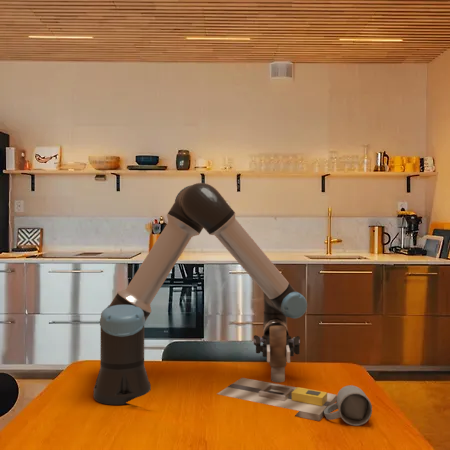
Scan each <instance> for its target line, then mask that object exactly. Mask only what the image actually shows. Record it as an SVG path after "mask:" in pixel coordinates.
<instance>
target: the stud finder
mask: <svg viewBox="0 0 450 450" xmlns="http://www.w3.org/2000/svg"><path fill="white" fill-rule="evenodd" d="M327 393H328V392H326V391H321V390H315V389H310V388H305V387H299V386H297V388H296V389H295V390H294V391H293V392H292V400H293V401H299V402H304V403H309V404H314V405H319V406H323V405H324V403H325V402H326V401H327Z"/></svg>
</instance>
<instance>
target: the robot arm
mask: <svg viewBox="0 0 450 450" xmlns="http://www.w3.org/2000/svg"><path fill="white" fill-rule="evenodd" d="M166 218H167V223H166V224H165V226H164V228H163V230H161V233H160V234H159V236H158V237H157V239H156V241H155V242H154V244H153V245H152V247H151V249H150V250H149V252H148V253H147V255H146V257H144V260H143V262H142V263H141V265H140V266H139V267H138V269H137V271H136V272H135V273H134V275H133V277H132V279H131V281H130V282H129V283H128V285H127V286H126V288H125V289H124V290H123V289H122V290H120V291H118V292H117V293H116V295H115V296H114V298H113V299H112V301H111V302H110V304H109V305H108V306H107V307H106V308H104V309H103V310H102V311H101V313H100V319H99V326H100V352H99V353H100V358H99V359H100V364H99V365H100V366H99V371H98V374H97V378H96V382H95V384H94V387H93V399H94V400H95V401H96V402H97V403H100V404H103V405H111V406H113V405H114V406H118V405H121V406H122V405H129V403H128V402H130V401H132V400H134V399H136V398H140V397H142V396H145V395H146V394H148V393H149V392H150V391H151V389H152V388H151V383H150V380H149V377H148V374H147V369H146V367H145V324H146V321H147V320H148V318H149V316H150V315H151V313H152V309H151V304H152V302H153V300H154V299H155V297H156V295H157V294H158V292H159V290H160V289H161V288H162V286H163V285H164V282H165V281H166V280H167V278H168V276H169V274H171V273H170V272H171V271H172V270H173V268H174V266H175V265H176V263H177V261H178V260H179V258H180V257H181V255H182V253H183V251H184V250H185V249H186V247H187V246H188V244H189V243H190V241H191V239H192V238H193V237H196V236H199V235H200V234H201V232H202V231H203V229H204V230H205V231H206V232H207V234H209V236H215V238H217V240H218V241H219V242H220V243H221V244H222V246H223V247H224V248H225V249H226V251H228V252H229V254H230V255H231V256H232V257H233V258H234V259H235V261H236V262H237V263H238V264H239V265H240V266H241V267H242V268H243V270H244V271H245V272H246V273H247V274H248V275H249V277H250V278H251V279H252V280H253V282H254V283H256V285H257V286H258V287H259V288H260V290H261V291H262V293H263V323H262V324H263V326H262V329H263V335H262V336H260V335H259V336H258V335H253V345H254V346H255V353H256V354H261V353H262V357H263V358H266V362H267V363H270V326H285V327H286V364H289V363H291V357H294V355H299V354H301V353H300V345H301V336H299V335H296V336H290V334H289V333H290V332H289V329H288V318H291V319H299V318H301V317H303V316H304V314H305V313H306V312H307V309H308V301H307V299H306V298H305V296H304V295H303V294H302V293H301V292H298V291H297V290H296V289H295V288H294V287H293V286H292V284H290V283H289V281H288V280H287V279H286V277H285V276H284V275H283V274H282V272H280V270H279V269H278V268H277V267H276V265H275V264H274V263H273V262H272V260H271V259H270V258H269V257H268V256H267V255H266V253H265V252H264V251H263V250H262V248H261V247H260V246H259V245H258V244H257V242H256V241H255V240H254V239H253V238H252V236H250V234H249V233H248V232H247V230H245V229H244V227H243V226H242V224H241V223H239V221H238V220H237V219H236V212H235V211H234V210H233V208H232V206H230V205H229V203H228V202H227V201H226V200H225V198H224V196H222V194H221V193H220V192H219V191H218V190H217V188H215V186H212V185H211V184H209V183H206V182H198V183H193V184H192V185H188V186H185V187H184V188H182V189H181V190H180V191H179V192H178V193H177V195H176V196H175V199H174V203H173V204H172V206H171V208H170V209H169V211H168V212H167V214H166ZM292 337H293V338H292ZM261 343H263V344H261Z"/></svg>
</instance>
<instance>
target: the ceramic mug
mask: <svg viewBox="0 0 450 450" xmlns="http://www.w3.org/2000/svg"><path fill="white" fill-rule="evenodd" d="M336 395H337V401H336V402H335V403H334V404H332V405H330V406H328V407H327V408H326V409H325V410H324V417H325V419H326V420H330V421H331V420H332V421H333V420H336V419H340V418H341V419H342V421H343V422H345V424H347V425H349V426H355V427H356V426H357V427H359V426H362V425H364V424H366V423H367V422H368V421H369V420H370V418H371V417H372V414H373V413H372V412H373V405H372V402H371V400H370V398H369V397H368V396H367V395H366V393H365V392H364V391H363V390H362V388H360V387H358V386H356V385H353V384H351V385H345V386H343V387H342V388H340V389H339V391H338V392H337V394H336ZM336 410H337V411H336Z"/></svg>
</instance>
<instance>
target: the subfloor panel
mask: <svg viewBox="0 0 450 450" xmlns="http://www.w3.org/2000/svg"><path fill="white" fill-rule="evenodd" d="M297 387H298V386H297ZM297 387H295V386H291V385H286V384H280V383H275V382H268V381H263V380H257V379H252V378H251V379H250V378H246V377H240V379H238V380H236V381H235V382H233V383H231V384H229V385H228V386H226V387H225V388H224V389H222V390H221V391H219V392H217V393H216V395H219V396H223V397H229V398H234V399H239V400H243V401H250V402H253V403H259V404H263V405H267V406H268V405H269V406H274V407H278V408H283V409H289V410H293V411H298V412H297V413H296V414H295V415H294V417H297V418H303V419H307V420H312V421H316V422H320V421H321V420H322V419H323V417H325V415H324V410H325V409H326V408H327V407H328V406H330V405H332V404H334V403H336V402H337V395H338V394H335V393H334V394H333V393H330V392H327V401H326V402H325V403H324V405H323V406H319V405H314V404H309V403H304V402H299V401H293V400H292V392H293V391H294V390H295V389H296V388H297Z"/></svg>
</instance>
